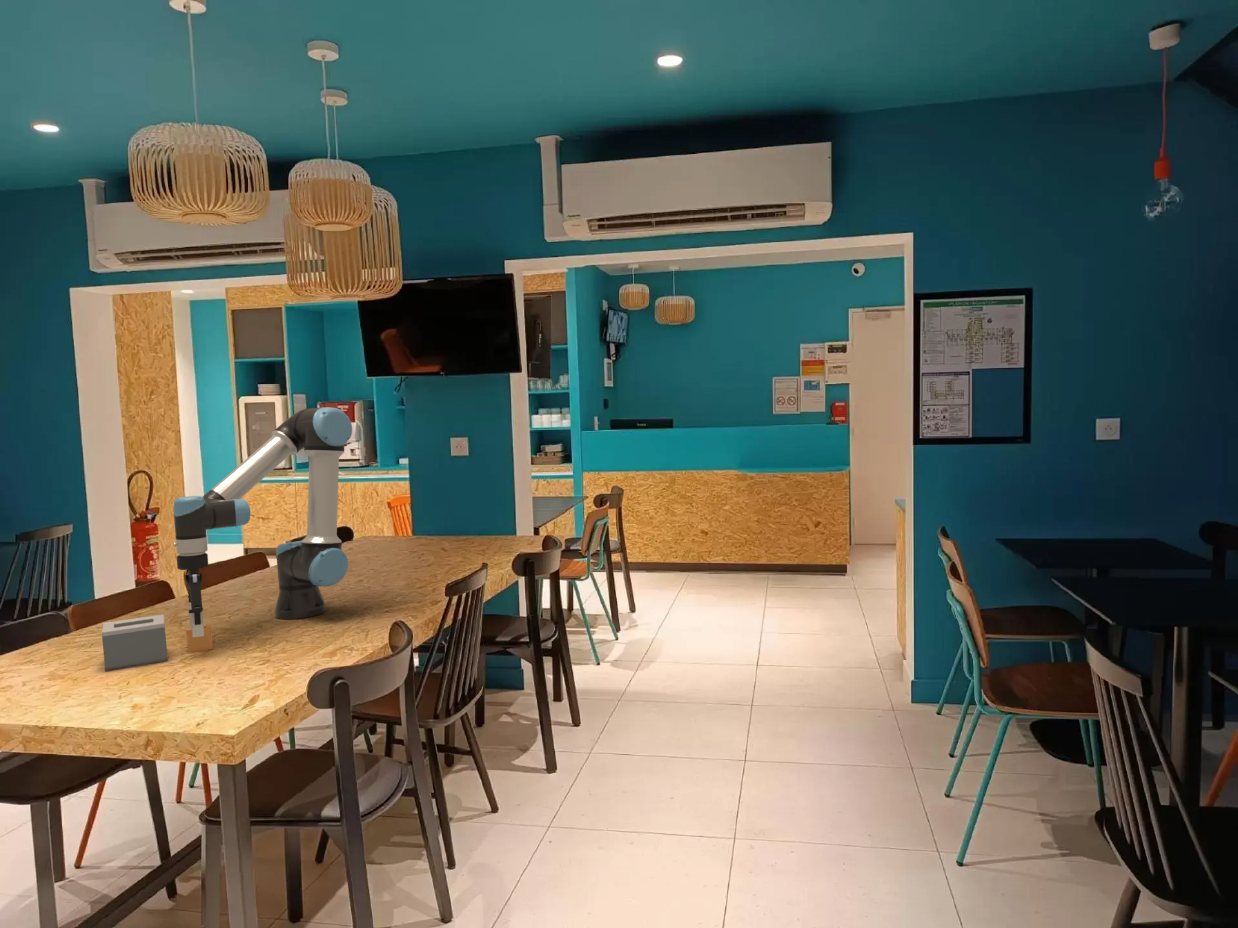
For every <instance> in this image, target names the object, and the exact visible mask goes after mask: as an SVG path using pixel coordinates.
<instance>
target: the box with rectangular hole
mask: <svg viewBox="0 0 1238 928" xmlns="http://www.w3.org/2000/svg"><path fill="white" fill-rule="evenodd" d="M165 624H166V623H165V615H164V614H156V615H149V616H143V617H142V616H141V617H136V618H130V619H129V618H128V619H123V620H122V619H121V620H115V621H107V622H103V624H102V625H103V626H102V630H101V637H102V639H101V640H102V649H103V659H104V660H103V661H104V670H105V672H110V671H111V672H112V671H117V670H122V669H128V668H134V667H140V666H145V665H146V666H147V665H152V664H153V665H154V664H158V663H165V662H168V661H169V659H168V647H167V637H166V625H165Z"/></svg>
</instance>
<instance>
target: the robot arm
mask: <svg viewBox="0 0 1238 928" xmlns="http://www.w3.org/2000/svg"><path fill="white" fill-rule="evenodd" d="M352 434H353V426H352V421H351V420H350V417H349V416H348V415H347V413H345V412H344V411H343V410H342V409H339V408H337V407H329V406H325V407H316V408H315V407H313V408H310V407H309V408H303V409H301V410H298V411H296V412H295V413H294V414H292V415H291V416H290V417H288V418H287V419H286V420H285V421H283V422H282V423H281V424H280V425H279V426H278V427H276V429H274V430H273V431H272V432H271V436H270V438H269V439H268V440H267V441H265V442H264V443H263V444H262V445H261V446H260V447H258V449H256V450H255V451H254V452H253V453H252V454H250V455H249V456H248V457H247V458H246V459H244V460H243V461H242V462H241V463H240V464H239V465H237V466H236V468H234V469H232V471H231V472H230V473H228V474H227V475H226V476H225V477H224V478H223V479H222V480H220V481H219V482H218V483H216V484H215V486H213V487H212V488H211V489H210V490H208V491H207V492H206V493H205V494H204V495H192V496H191V495H190V496H189V495H188V496H181V497H180V496H179V497H177V498H175V499H174V501H173V514H172V515H173V520H174V523H173V524H174V533H175V542H174V543H173V547H176V554H178V555H177V556H176V567H177V569H178V570H180V571H186V572H187V573H186V574H184V577H185V584H186V588H187V593H188V596H187V599H188V600H187V601H188V614H189V627H190V628H192V635H193V637H200V636H204V626H205V625H204V615H203V610H204V607H203V599H202V589H203V585H202V584H203V582H202V581H203V575H202V573H199V569H204V568H207V567H208V566H209V557H208V556H209V554H208V553H207V551H208V538H207V537H208V535H207V530H213V529H215V530H216V529H222V528H223V529H224V528H232V527H235V528H238V527H240V526H245V525H247V524H248V523H249V522H250V520H251V507H250V505H249V502H248V501H247V500H246V499H243V497H244V496H245V495H246V494H248V493H249V492H250V491H251V490H252V489H253V488H254V487H256V485H258V484H259V483H260V482H261V481H262V480H263V479H264V478H265V477H266V476H268V475H269V474H271V472H272V471H273V470H274V469H276V468H277V467H278V466H279V465H280V464H282V462H283V461H285V460H286V459H287V458H288V457H289V456H295V455H296V454H298V453H299V452H300V451H301V450H303V451H304V453H305V454H306V455H307V456H308V484H307V485H308V486H307V487H308V491H307V518H306V519H307V521H306V522H307V527H306V535H305V537H304V538H303V539H302V540H297V541H292V542H291V541H290V542H284V543H280V544H278V545H277V547H276V552H275V553H276V554H275V557H276V566H277V578H278V591H279V593H278V595H277V600H276V603H275V608H274V617H275V618H276V619H282V620H296V619H297V620H298V619H303V618H304V619H305V618H311V617H315V616H319V615H321V614H323V613H325V612H326V611H327V605H326V601H325V599H324V597H323V595H322V593H321V590H320V587H330V586H334V585H337V584H338V583H340V581H341V580H342V579H344V577H345V576H346V574H347V572H348V570H349V559H348V555H347V554H345V552H344V551H343V550H342V549H343V548H342V545H343V543H342V539H340V538H339V536H338V534H337V533H338V530H337V529H338V505H339V503H338V502H339V500H338V499H339V472H340V471H339V470H340V467H339V466H340V457H341V456H342V455H343V454H344V453H345V445H346V443H348V441H349V440H350V439H351V437H352Z"/></svg>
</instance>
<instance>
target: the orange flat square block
mask: <svg viewBox="0 0 1238 928" xmlns="http://www.w3.org/2000/svg"><path fill="white" fill-rule="evenodd" d="M203 626H204V636H200V637H193V635H192V627H190V628H185V633H186V642H187V643H186V645H187V653H193V652H199V651H200V652H201V651H206V650H210V649H213V648H214V647H213V645H214V643H213V634H212V625H211V624H208V625H203Z"/></svg>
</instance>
